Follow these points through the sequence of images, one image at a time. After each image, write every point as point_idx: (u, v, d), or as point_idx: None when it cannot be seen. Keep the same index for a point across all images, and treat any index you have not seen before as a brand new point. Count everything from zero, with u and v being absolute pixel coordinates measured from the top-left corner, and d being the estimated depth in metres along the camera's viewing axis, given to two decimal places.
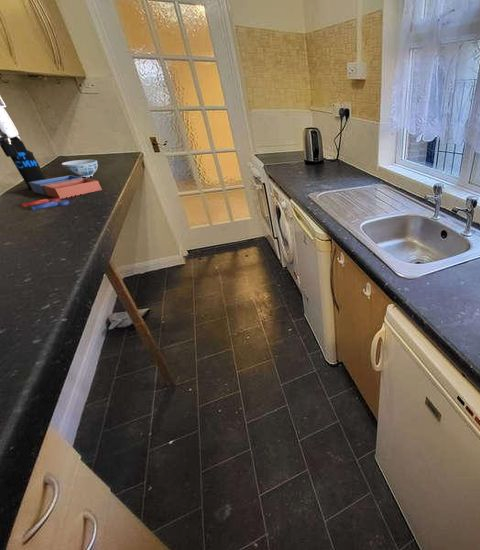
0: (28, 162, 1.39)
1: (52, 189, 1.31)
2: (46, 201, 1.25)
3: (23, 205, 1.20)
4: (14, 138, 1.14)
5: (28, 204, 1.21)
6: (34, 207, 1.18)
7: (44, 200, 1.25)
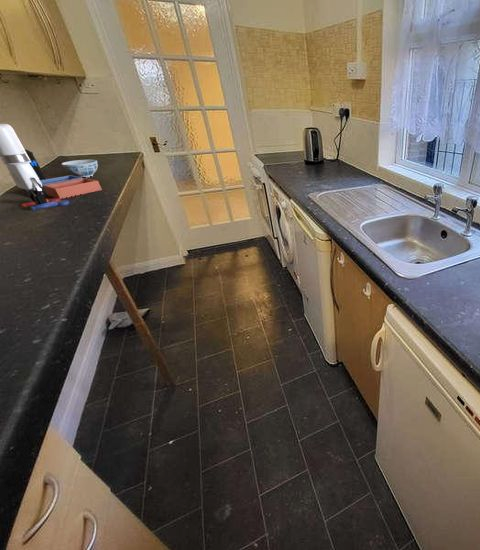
0: None
1: (52, 189, 1.31)
2: None
3: (23, 205, 1.20)
4: None
5: (28, 204, 1.21)
6: (34, 207, 1.18)
7: None
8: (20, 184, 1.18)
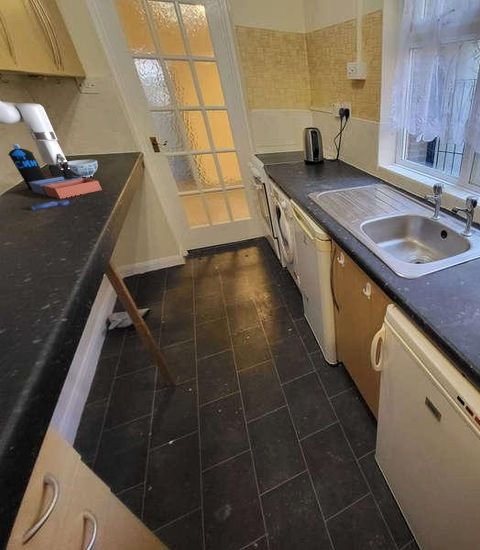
0: (28, 162, 1.39)
1: (52, 189, 1.31)
2: None
3: None
4: (51, 164, 1.34)
5: None
6: (34, 207, 1.18)
7: None
8: (47, 160, 1.29)
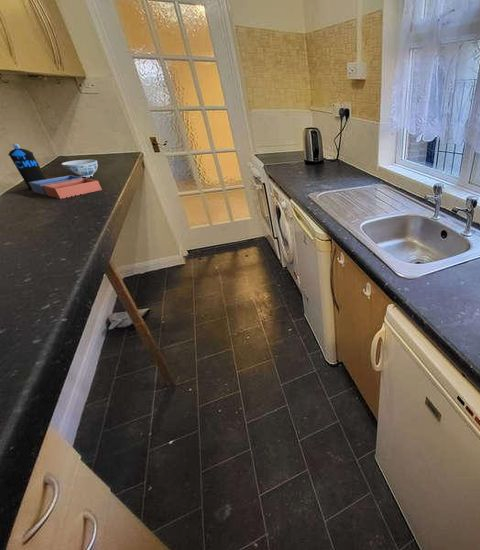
0: (28, 162, 1.39)
1: (52, 189, 1.31)
2: None
3: None
4: None
5: None
6: None
7: None
8: None
